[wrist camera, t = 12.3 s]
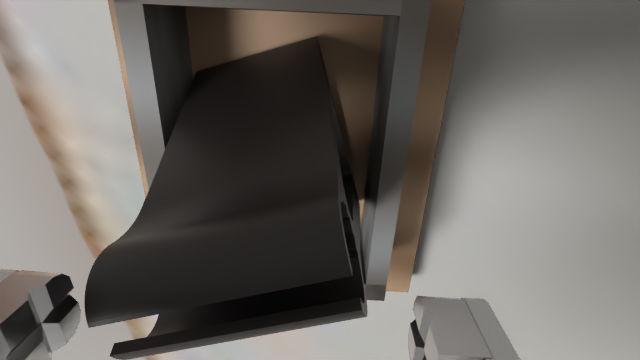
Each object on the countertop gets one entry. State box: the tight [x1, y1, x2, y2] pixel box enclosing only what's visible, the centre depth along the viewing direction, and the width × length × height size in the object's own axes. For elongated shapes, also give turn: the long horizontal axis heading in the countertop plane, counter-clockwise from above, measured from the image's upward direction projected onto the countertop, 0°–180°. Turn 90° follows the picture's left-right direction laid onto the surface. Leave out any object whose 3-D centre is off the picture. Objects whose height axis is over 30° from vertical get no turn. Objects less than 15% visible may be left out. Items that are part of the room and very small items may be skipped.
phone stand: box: [85, 36, 367, 360], centre depth 13 cm, size 9×6×12 cm, turn 15°
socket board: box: [108, 0, 465, 301], centre depth 17 cm, size 20×16×6 cm
